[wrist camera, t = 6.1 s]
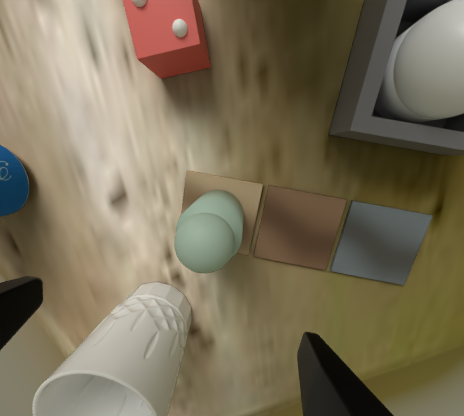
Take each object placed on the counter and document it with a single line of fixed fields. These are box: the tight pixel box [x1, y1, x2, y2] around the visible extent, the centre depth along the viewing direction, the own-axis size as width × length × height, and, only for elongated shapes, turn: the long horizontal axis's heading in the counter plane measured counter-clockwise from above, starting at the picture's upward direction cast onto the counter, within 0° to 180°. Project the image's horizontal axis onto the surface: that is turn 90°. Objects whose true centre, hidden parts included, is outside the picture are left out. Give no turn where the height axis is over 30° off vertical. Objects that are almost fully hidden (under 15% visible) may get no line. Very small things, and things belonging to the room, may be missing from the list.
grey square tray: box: [329, 0, 464, 156], centre depth 15 cm, size 9×9×4 cm
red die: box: [123, 0, 211, 79], centre depth 15 cm, size 4×4×4 cm
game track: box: [181, 170, 432, 285], centre depth 20 cm, size 6×20×1 cm, turn 80°
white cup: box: [32, 282, 192, 416], centre depth 18 cm, size 8×8×10 cm
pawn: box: [174, 190, 244, 273], centre depth 16 cm, size 4×4×8 cm
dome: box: [374, 0, 464, 123], centre depth 13 cm, size 6×6×6 cm
